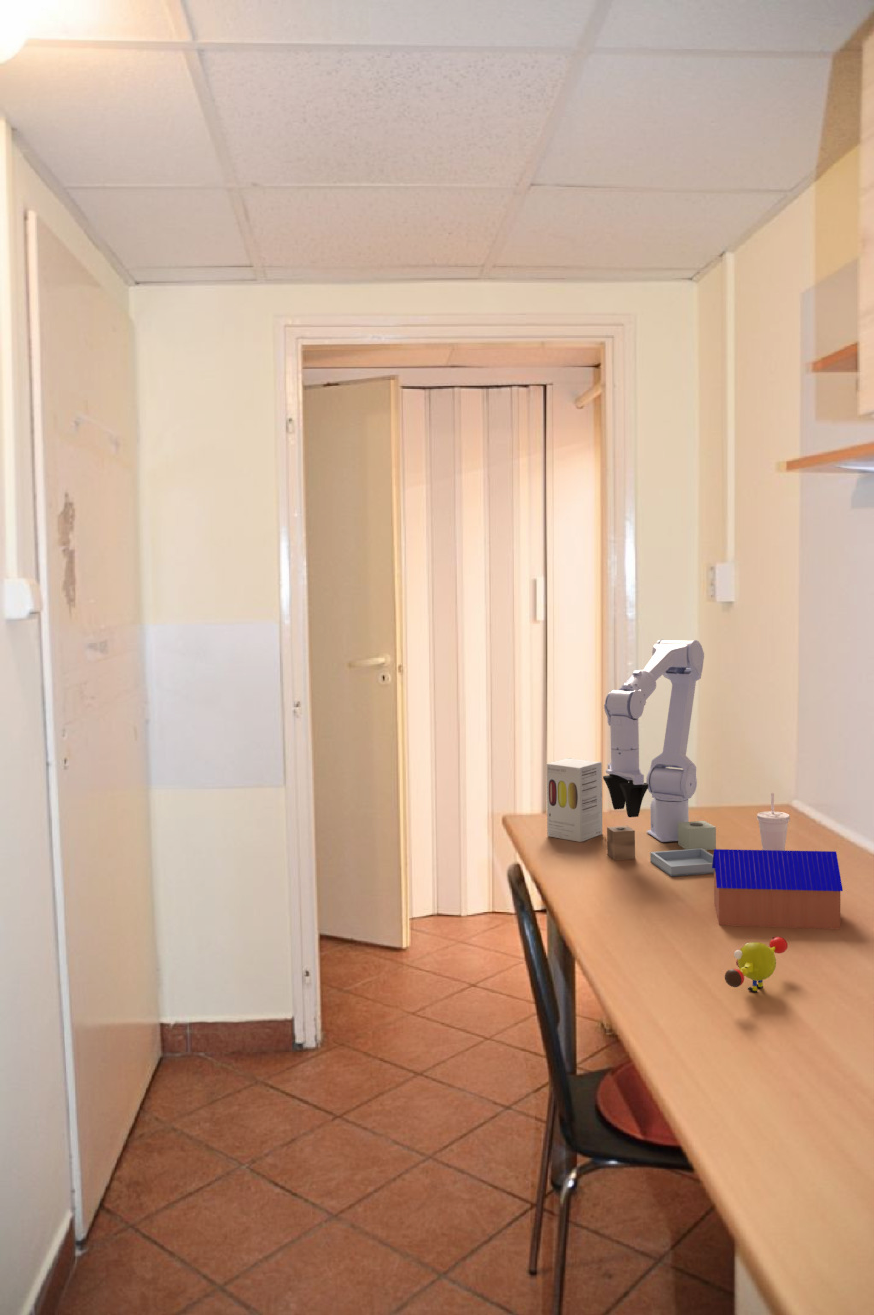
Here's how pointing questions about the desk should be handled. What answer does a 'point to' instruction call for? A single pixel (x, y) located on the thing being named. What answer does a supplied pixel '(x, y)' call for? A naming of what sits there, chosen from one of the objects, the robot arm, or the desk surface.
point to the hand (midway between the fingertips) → (625, 812)
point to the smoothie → (773, 828)
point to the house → (777, 888)
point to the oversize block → (697, 835)
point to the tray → (683, 862)
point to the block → (621, 842)
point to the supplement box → (574, 799)
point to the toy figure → (755, 963)
